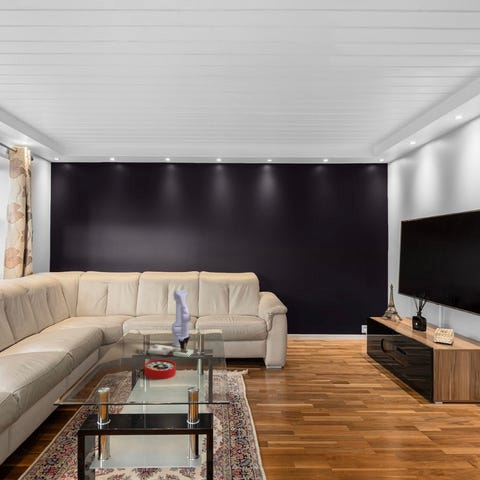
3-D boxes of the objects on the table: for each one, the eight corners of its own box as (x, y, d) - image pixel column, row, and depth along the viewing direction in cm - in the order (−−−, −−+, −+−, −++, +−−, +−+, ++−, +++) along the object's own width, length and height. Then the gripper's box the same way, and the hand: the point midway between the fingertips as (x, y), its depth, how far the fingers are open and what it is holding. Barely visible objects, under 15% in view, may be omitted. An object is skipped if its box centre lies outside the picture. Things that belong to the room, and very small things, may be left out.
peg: (181, 352, 313) (182, 342, 312) (186, 353, 312) (187, 343, 312) (179, 354, 309) (180, 343, 308) (185, 355, 308) (185, 344, 308)
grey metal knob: (154, 348, 317) (154, 345, 317) (159, 349, 316) (159, 345, 316) (152, 350, 313) (152, 346, 313) (157, 351, 312) (157, 347, 312)
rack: (178, 350, 317) (178, 347, 317) (193, 352, 315) (193, 349, 315) (172, 355, 306) (173, 352, 305) (188, 357, 303) (188, 354, 303)
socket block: (155, 346, 322) (155, 344, 322) (172, 349, 319) (172, 346, 319) (148, 352, 308) (148, 349, 308) (166, 355, 306) (166, 352, 305)
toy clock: (142, 370, 260) (147, 358, 280) (142, 379, 260) (147, 367, 280) (174, 371, 261) (177, 360, 281) (174, 380, 261) (176, 368, 281)
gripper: (182, 326, 317) (181, 344, 318) (176, 331, 303) (175, 349, 304) (191, 327, 316) (190, 345, 317) (185, 332, 302) (184, 351, 302)
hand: (183, 347), depth 310 cm, fingers open, 7 cm apart
